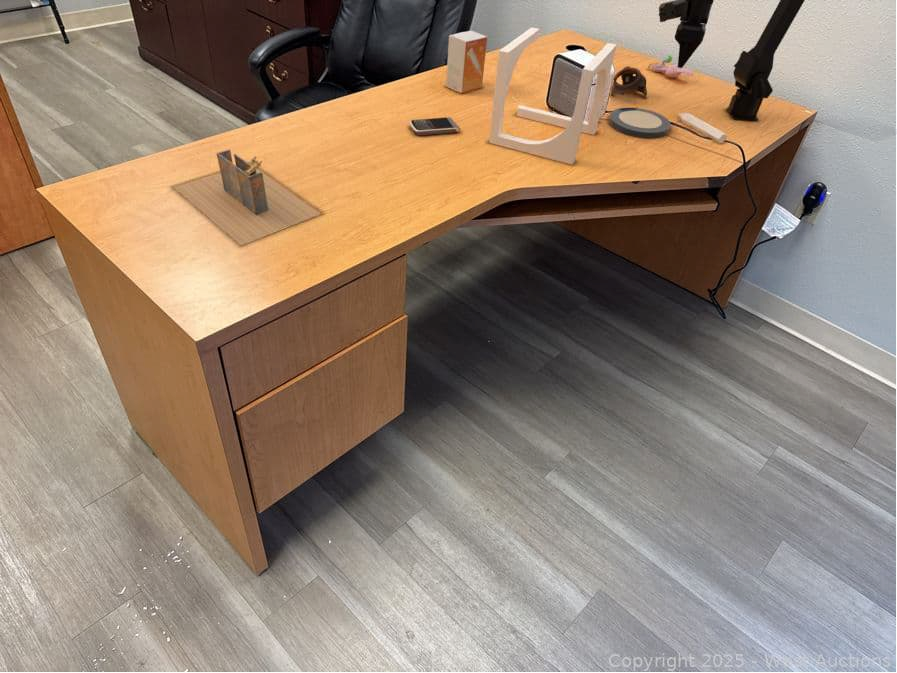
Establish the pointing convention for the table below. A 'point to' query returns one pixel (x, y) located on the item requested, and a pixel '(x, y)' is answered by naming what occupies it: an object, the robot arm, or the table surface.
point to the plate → (639, 122)
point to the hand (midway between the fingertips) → (681, 61)
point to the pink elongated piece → (670, 68)
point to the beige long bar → (703, 127)
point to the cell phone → (434, 126)
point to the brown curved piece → (629, 82)
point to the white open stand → (568, 139)
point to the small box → (466, 61)
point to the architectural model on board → (245, 200)
